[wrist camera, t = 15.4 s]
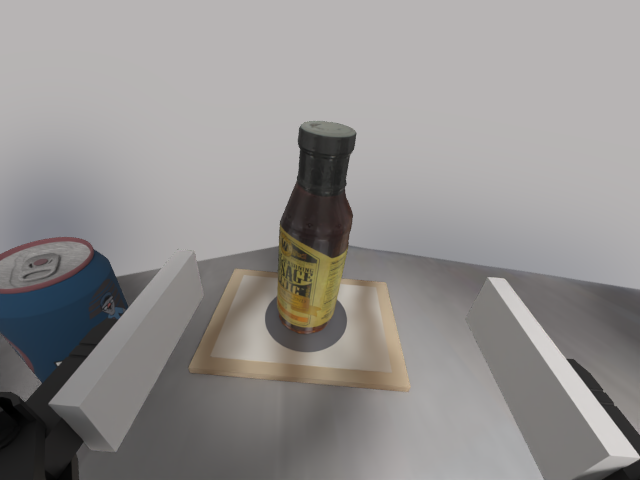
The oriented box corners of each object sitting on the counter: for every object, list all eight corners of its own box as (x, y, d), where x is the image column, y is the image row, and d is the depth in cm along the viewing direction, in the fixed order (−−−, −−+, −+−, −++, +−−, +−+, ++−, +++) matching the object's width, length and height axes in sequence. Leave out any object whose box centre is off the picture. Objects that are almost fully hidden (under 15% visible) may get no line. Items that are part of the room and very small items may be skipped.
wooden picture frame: (384, 287, 37) (386, 281, 37) (408, 391, 25) (411, 385, 25) (235, 273, 37) (234, 267, 36) (189, 372, 25) (187, 366, 25)
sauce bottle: (266, 307, 31) (262, 116, 20) (313, 287, 34) (330, 114, 23) (297, 351, 27) (312, 140, 16) (346, 324, 30) (387, 133, 19)
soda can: (57, 350, 26) (-18, 244, 19) (143, 323, 29) (104, 225, 23) (43, 422, 21) (-62, 313, 15) (148, 380, 24) (100, 276, 18)
